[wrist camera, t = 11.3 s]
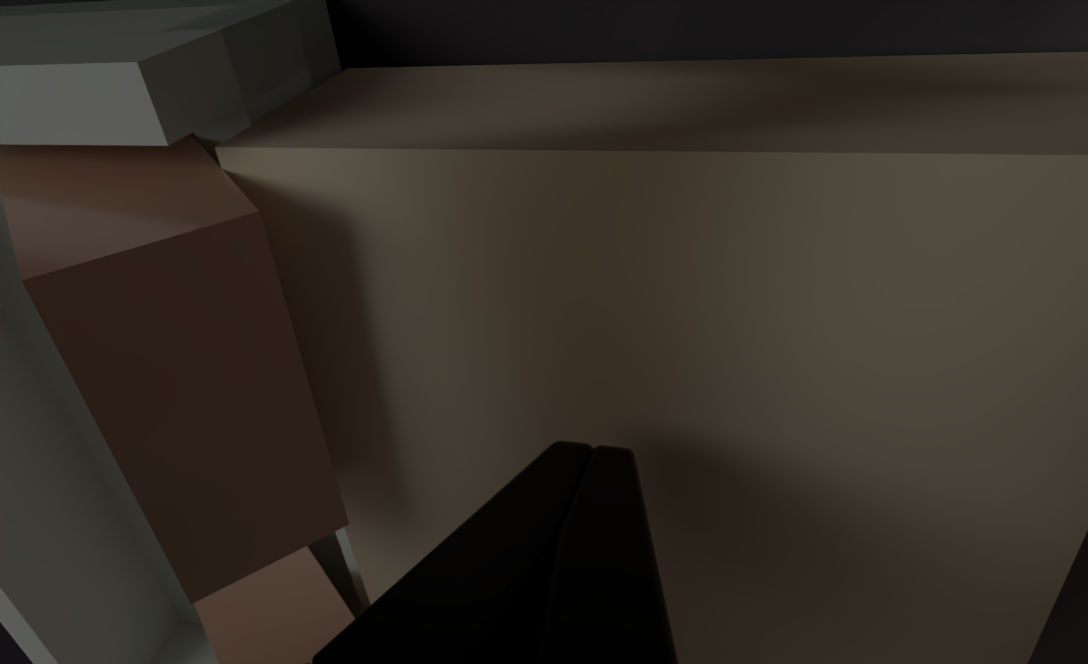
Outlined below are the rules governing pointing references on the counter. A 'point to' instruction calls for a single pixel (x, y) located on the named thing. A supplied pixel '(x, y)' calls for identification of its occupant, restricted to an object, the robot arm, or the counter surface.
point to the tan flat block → (713, 325)
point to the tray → (33, 359)
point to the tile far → (275, 614)
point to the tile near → (177, 347)
